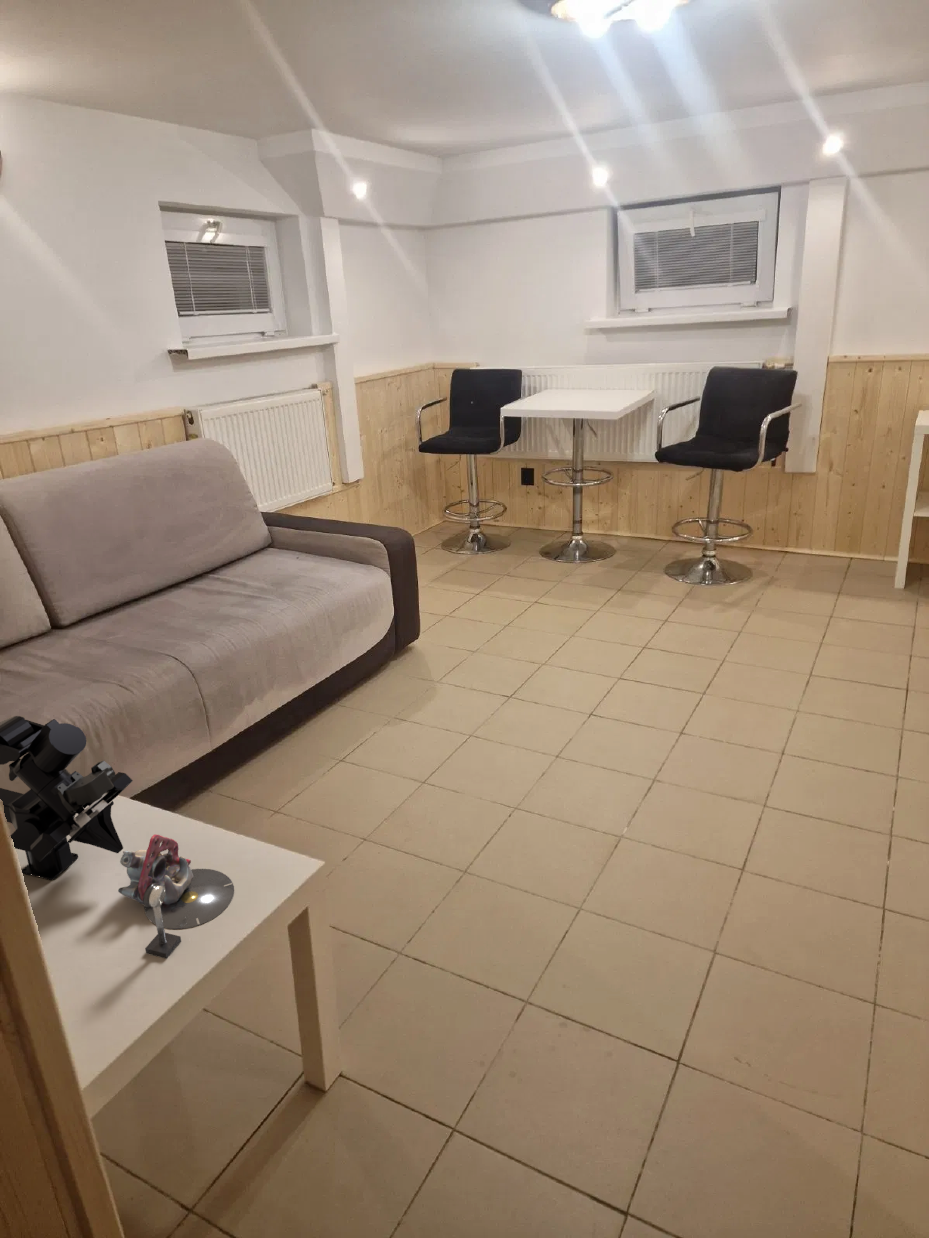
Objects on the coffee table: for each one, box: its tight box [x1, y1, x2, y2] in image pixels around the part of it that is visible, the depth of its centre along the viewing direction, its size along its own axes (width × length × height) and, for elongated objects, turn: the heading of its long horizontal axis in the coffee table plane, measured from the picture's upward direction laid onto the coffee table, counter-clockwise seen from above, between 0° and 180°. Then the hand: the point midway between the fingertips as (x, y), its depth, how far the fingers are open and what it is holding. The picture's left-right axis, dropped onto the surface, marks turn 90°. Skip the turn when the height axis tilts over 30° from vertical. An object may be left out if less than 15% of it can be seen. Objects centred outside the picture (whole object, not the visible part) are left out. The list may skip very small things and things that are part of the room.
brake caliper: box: [117, 834, 193, 905], centre depth 134 cm, size 11×11×12 cm
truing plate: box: [143, 868, 235, 930], centre depth 134 cm, size 14×14×1 cm
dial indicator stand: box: [142, 883, 182, 960], centre depth 122 cm, size 4×4×12 cm
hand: (120, 850), depth 135 cm, fingers closed
